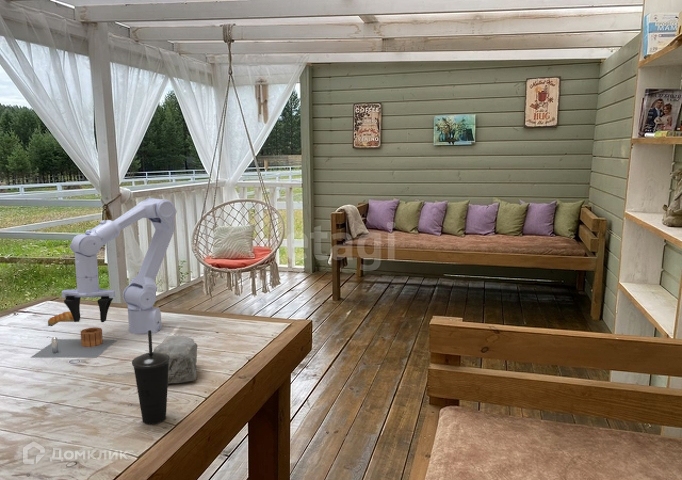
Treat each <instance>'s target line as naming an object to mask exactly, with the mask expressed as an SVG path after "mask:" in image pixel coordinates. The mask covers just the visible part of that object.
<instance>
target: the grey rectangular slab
mask: <svg viewBox="0 0 682 480" xmlns="http://www.w3.org/2000/svg"><path fill="white" fill-rule="evenodd" d="M57 339H58V350H59V352H58V353H55V354H54V353H52V342H51V343H49V344H48V345H46V346H44V347H43V348H42V349H40V350H39V351H38V352H36V353H35V354H32V356H30V358H31V359H33V358H35V359H36V358H41V359H42V358H47V359H48V358H57V359H58V358H63V359H64V358H67V359H68V358H73V359H74V358H79V359H80V358H84V359H85V358H88V359H89V358H96V359H97V358H98V357H100V355H102V354H103V353H104V352H105V351H106V350H107V349H108V348H110V347H111V346H112V345H113V344H114V343H115V342H117V341H118V339H117V338H116V339H110V338H108V339H107V338H105V339H103V343H102V344H100V345H98V346H94V347H83V346H82V345H81V338H80V339H79V338H77V339H71V338H70V339H69V338H65V339H64V338H61V339H60V338H57Z"/></svg>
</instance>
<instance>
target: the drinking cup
mask: <svg viewBox="0 0 682 480" xmlns="http://www.w3.org/2000/svg"><path fill="white" fill-rule="evenodd" d="M152 334H153V333H151V330H149V331H148V333H147V335H148V337H147V338H148V340H147V341H148V352H146V353H143V354H141V355H139V356H136V357H135V358H133V359H132V361H131V365H132V366H133V371H134V376H135V382H136V389H137V395H138V401H139V408H140V413H141V420H142V423H144V424H146V425H150V426H151V425H157V424H160V423H162V422H164V421H165V420H166V419H167V407H168V403H167V402H168V389H169V388H168V386H169V384H168V368H169V361H170V356H169V355H167V354H164V353H159V352H153V335H152Z"/></svg>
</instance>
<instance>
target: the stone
mask: <svg viewBox="0 0 682 480" xmlns="http://www.w3.org/2000/svg"><path fill="white" fill-rule="evenodd" d="M152 352H159V353H164V354H167V355H169V356H170V361H169V368H168V385H169V384H182V383H186V382H193V381H196V379H197V376H198V374H197V370H196V369H197V358H198V344H197V342H195V340H194V339H193V338H191V337H189V336H185V335H170V336H169V335H168V336H167V337H165V338H164V340H163V341H162V342H161V343H160V344H158V345H157V346H155V347H154V349H153V350H152Z"/></svg>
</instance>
